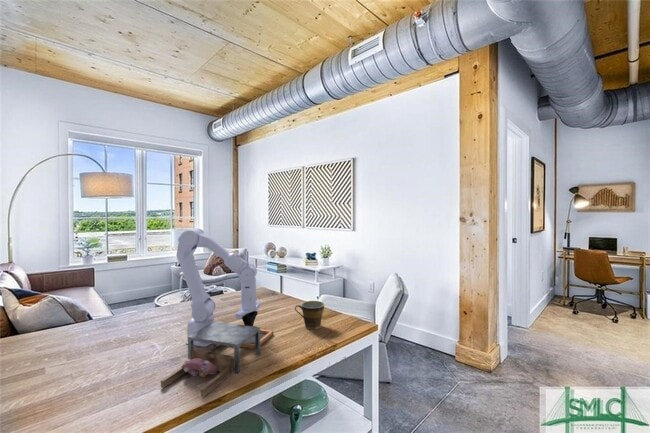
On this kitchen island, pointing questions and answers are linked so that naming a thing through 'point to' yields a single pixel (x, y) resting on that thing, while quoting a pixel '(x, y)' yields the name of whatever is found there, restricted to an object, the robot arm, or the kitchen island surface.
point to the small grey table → (226, 338)
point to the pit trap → (263, 337)
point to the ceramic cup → (312, 314)
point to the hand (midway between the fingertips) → (248, 330)
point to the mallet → (214, 356)
